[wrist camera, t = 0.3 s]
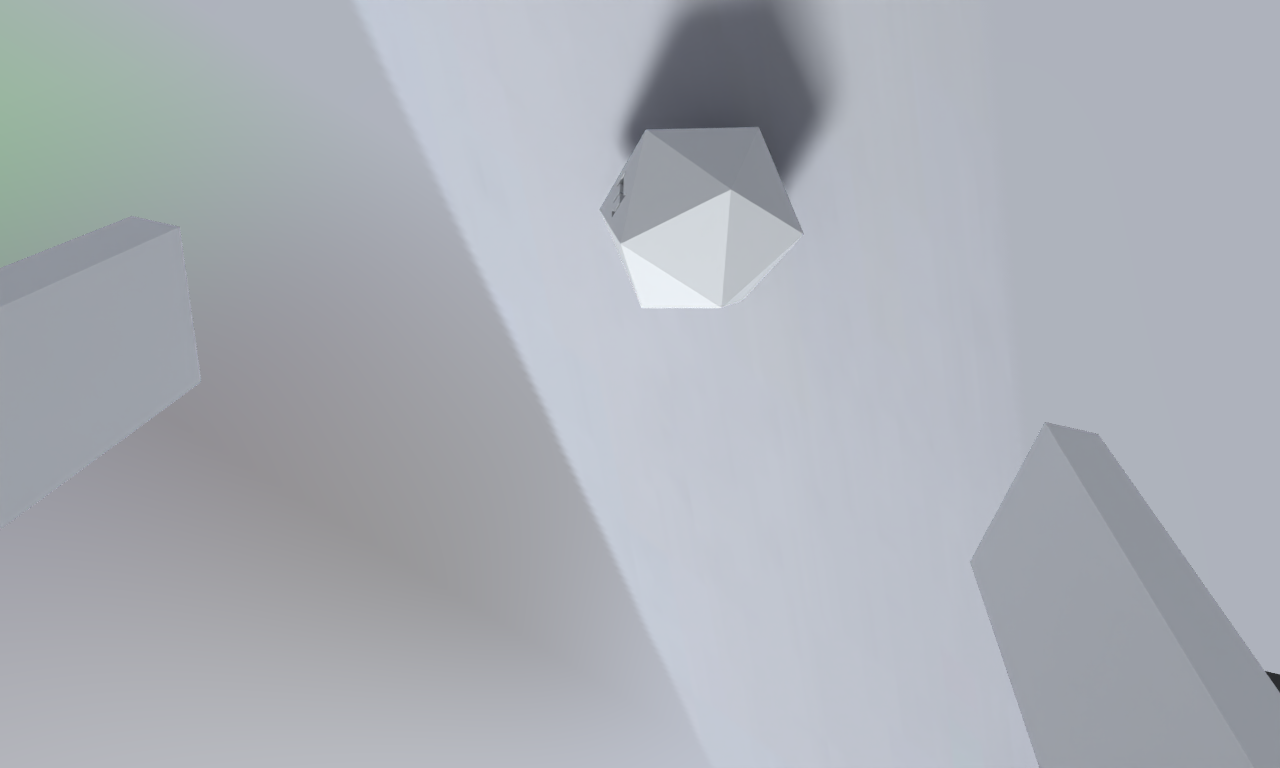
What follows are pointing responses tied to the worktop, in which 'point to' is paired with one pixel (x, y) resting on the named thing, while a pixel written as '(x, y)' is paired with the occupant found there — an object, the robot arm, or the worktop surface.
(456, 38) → the worktop surface
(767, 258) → the die
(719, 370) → the worktop surface
